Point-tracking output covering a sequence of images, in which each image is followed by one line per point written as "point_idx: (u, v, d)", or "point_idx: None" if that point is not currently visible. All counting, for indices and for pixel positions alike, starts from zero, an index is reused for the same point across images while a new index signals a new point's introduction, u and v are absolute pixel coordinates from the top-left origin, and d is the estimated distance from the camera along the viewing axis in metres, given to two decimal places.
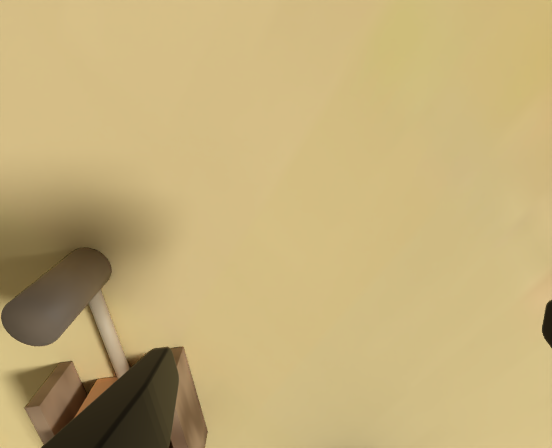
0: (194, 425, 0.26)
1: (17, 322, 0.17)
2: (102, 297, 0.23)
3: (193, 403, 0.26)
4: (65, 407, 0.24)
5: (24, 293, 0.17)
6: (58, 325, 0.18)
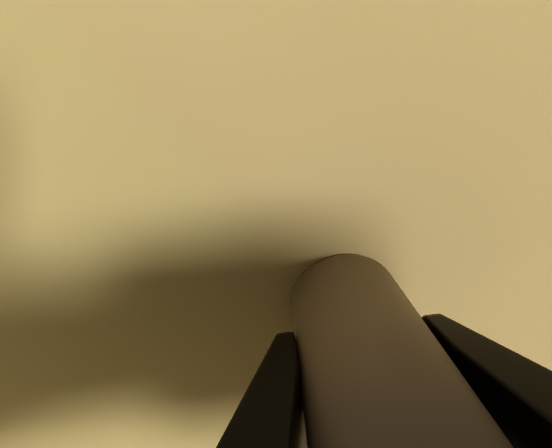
0: None
1: None
2: None
3: None
4: None
5: None
6: None
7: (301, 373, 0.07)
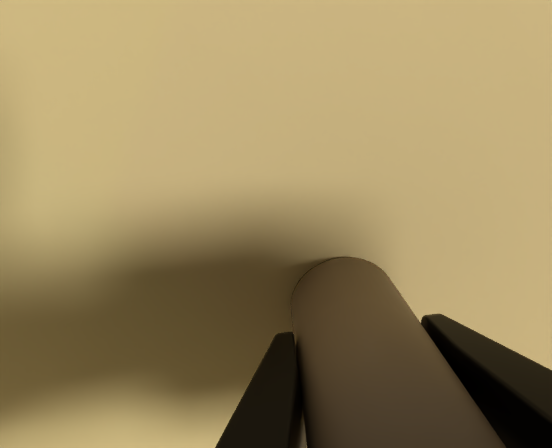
0: None
1: None
2: None
3: None
4: None
5: None
6: None
7: (301, 372, 0.07)
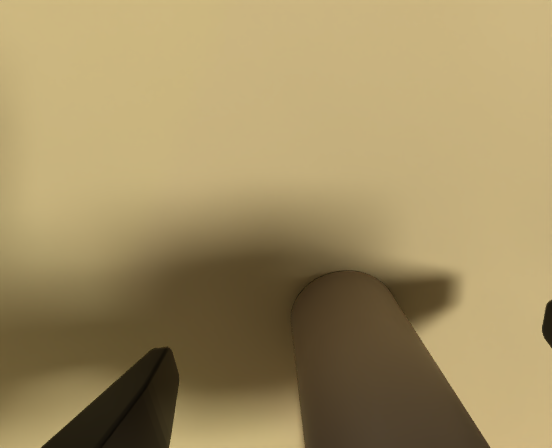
0: None
1: None
2: None
3: None
4: None
5: None
6: None
7: (302, 389, 0.07)
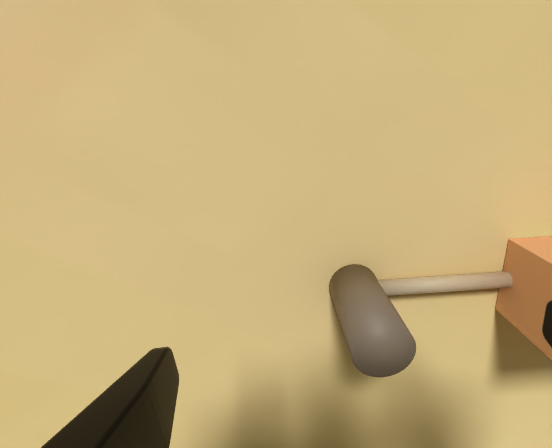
0: None
1: (380, 364, 0.16)
2: (389, 280, 0.21)
3: None
4: None
5: (349, 349, 0.16)
6: (393, 328, 0.15)
7: None
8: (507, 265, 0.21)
